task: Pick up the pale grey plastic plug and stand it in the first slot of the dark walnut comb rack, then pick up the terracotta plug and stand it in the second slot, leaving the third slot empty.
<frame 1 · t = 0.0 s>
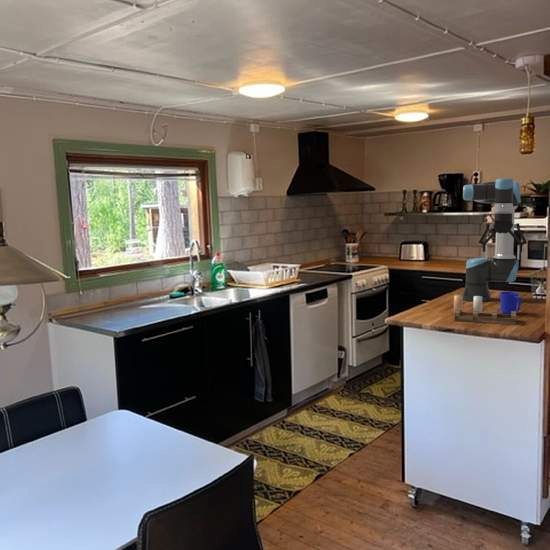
hand: (501, 259, 249), 28 cm above the table, fingers open, 13 cm apart
mug: (511, 314, 263), on the table
plug terracotta: (457, 313, 266), on the table
comb rack: (485, 320, 250), on the table
plug grey: (477, 314, 263), on the table
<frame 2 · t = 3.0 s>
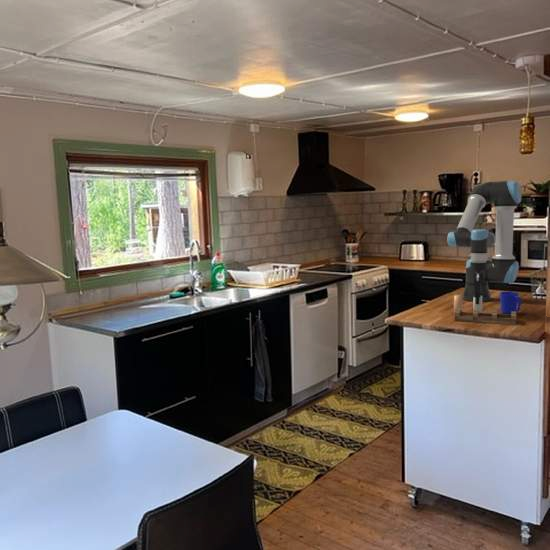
hand: (477, 309, 262), 3 cm above the table, fingers closed on plug grey, 3 cm apart
plug grey: (477, 314, 263), on the table, touching gripper
everything else where it was.
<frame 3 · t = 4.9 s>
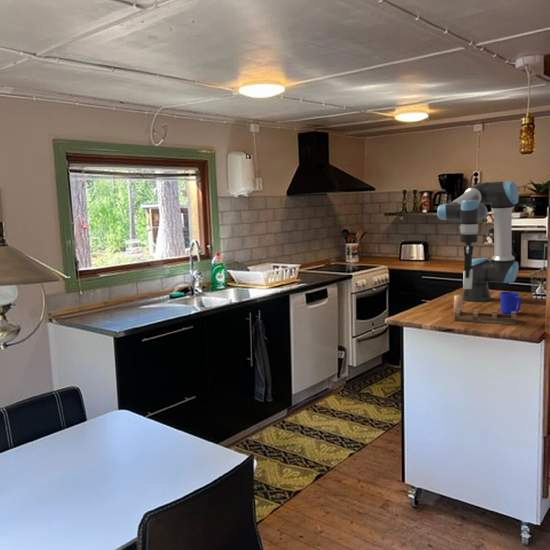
hand: (467, 284, 251), 17 cm above the table, fingers closed on plug grey, 3 cm apart
plug grey: (467, 288, 252), point 15 cm above the table, touching gripper
everything else where it was.
when the fingers open (5 cm above the table, at t = 6.8 s): plug grey drops 2 cm, resting on comb rack.
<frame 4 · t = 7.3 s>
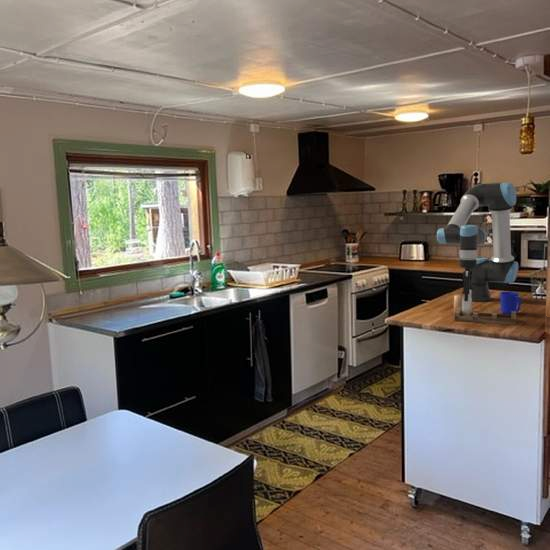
hand: (467, 305, 253), 7 cm above the table, fingers open, 11 cm apart
plug grey: (466, 317, 253), point 1 cm above the table, touching comb rack
everything else where it was.
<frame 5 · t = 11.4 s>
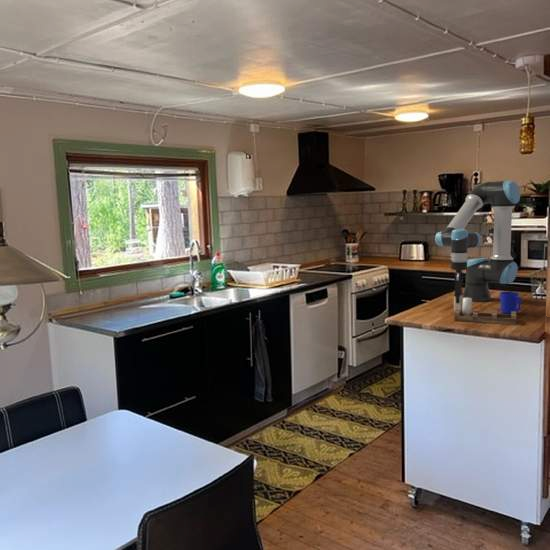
hand: (458, 308, 266), 3 cm above the table, fingers closed on plug terracotta, 3 cm apart
plug terracotta: (458, 313, 266), on the table, touching gripper
everything else where it was.
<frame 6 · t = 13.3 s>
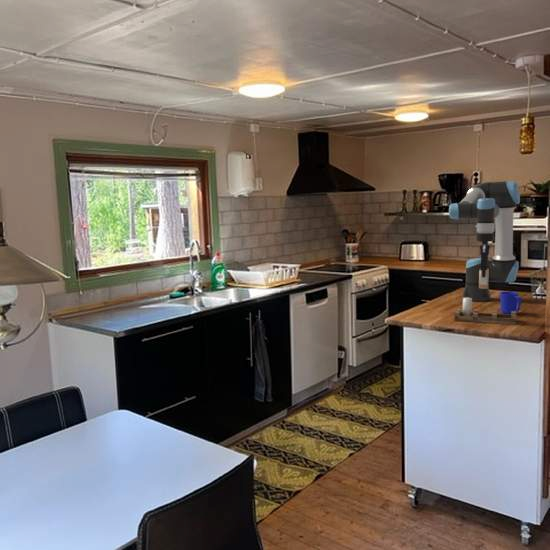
hand: (483, 283, 249), 17 cm above the table, fingers closed on plug terracotta, 3 cm apart
plug terracotta: (483, 288, 249), point 15 cm above the table, touching gripper
everything else where it was.
when the fingers open (5 cm above the table, at t = 15.4 s): plug terracotta drops 2 cm, resting on comb rack.
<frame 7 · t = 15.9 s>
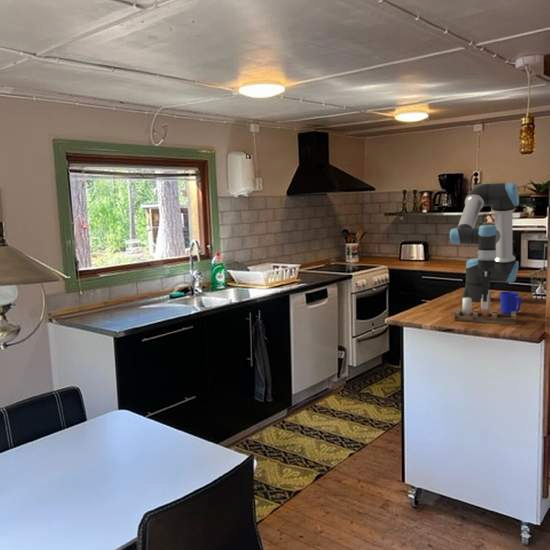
hand: (485, 306, 249), 7 cm above the table, fingers open, 12 cm apart
plug terracotta: (485, 318, 250), point 1 cm above the table, touching comb rack
everything else where it was.
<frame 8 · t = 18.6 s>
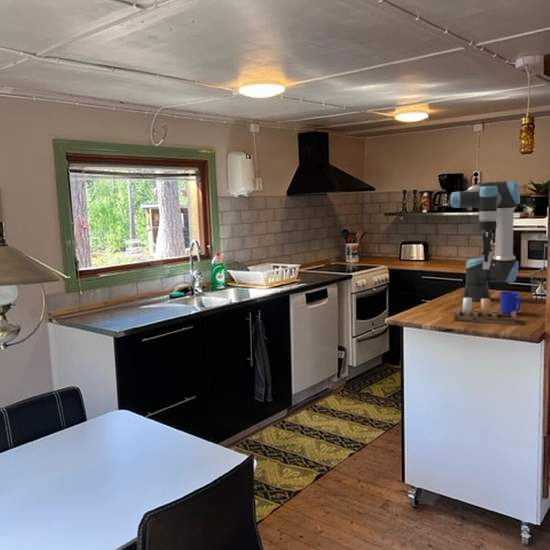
hand: (486, 267, 247), 25 cm above the table, fingers open, 13 cm apart
nothing on the table moved.
at the end: plug grey inside the target area on the comb rack (0.1 cm from its centre), point 1.0 cm above the comb rack's base; plug terracotta inside the target area on the comb rack (0.1 cm from its centre), point 1.0 cm above the comb rack's base; plug terracotta tilted 0° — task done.
